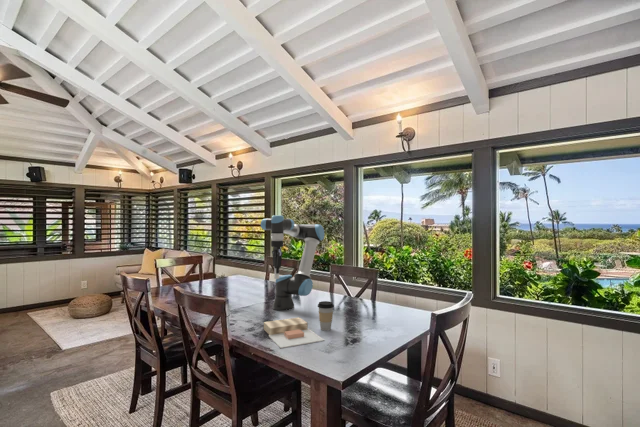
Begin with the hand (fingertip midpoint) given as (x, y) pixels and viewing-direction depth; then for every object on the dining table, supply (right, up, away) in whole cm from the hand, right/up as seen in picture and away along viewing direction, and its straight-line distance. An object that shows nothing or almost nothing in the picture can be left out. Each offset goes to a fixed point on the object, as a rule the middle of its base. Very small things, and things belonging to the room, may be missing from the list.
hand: (276, 278), depth 199 cm
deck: (+7, -26, -15) cm, 31 cm away
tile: (+13, -23, -27) cm, 38 cm away
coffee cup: (+30, -27, -14) cm, 42 cm away
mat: (+14, -26, -29) cm, 41 cm away
